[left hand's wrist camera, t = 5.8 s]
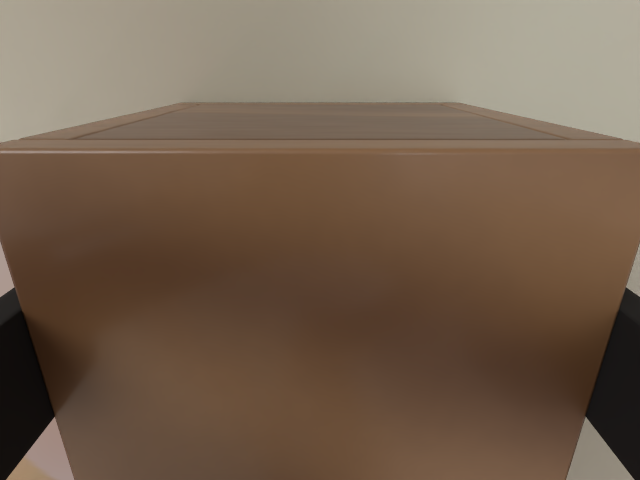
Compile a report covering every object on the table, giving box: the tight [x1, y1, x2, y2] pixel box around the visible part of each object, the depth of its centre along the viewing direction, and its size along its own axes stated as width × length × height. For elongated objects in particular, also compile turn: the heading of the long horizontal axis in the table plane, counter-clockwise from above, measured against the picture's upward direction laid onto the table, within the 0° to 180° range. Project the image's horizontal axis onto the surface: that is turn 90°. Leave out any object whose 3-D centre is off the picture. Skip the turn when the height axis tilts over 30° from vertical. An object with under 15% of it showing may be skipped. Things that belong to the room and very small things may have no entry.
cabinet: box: [0, 103, 640, 480], centre depth 16 cm, size 22×12×11 cm, turn 0°
